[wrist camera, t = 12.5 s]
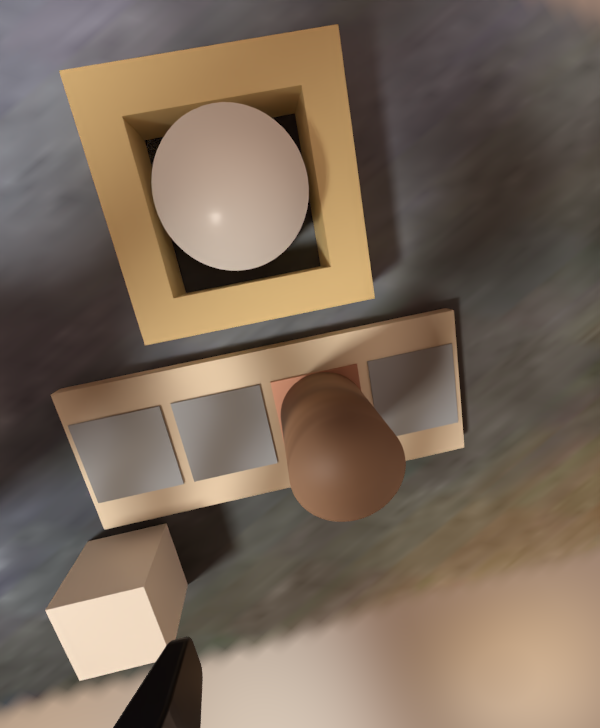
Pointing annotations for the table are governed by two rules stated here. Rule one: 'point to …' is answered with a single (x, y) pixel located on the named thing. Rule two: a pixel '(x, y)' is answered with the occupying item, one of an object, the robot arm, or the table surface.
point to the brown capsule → (339, 449)
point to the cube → (120, 602)
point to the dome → (230, 186)
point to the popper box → (156, 116)
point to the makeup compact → (251, 415)
